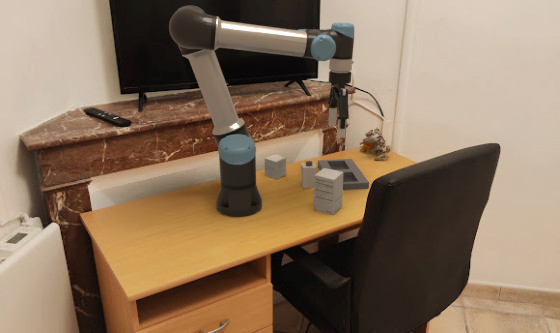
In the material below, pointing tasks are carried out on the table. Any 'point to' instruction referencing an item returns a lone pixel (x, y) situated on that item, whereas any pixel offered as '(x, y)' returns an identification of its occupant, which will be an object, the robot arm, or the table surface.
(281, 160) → the product box
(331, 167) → the dark grey compartment tray
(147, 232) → the table surface
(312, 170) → the plug
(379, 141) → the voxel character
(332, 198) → the supplement box
